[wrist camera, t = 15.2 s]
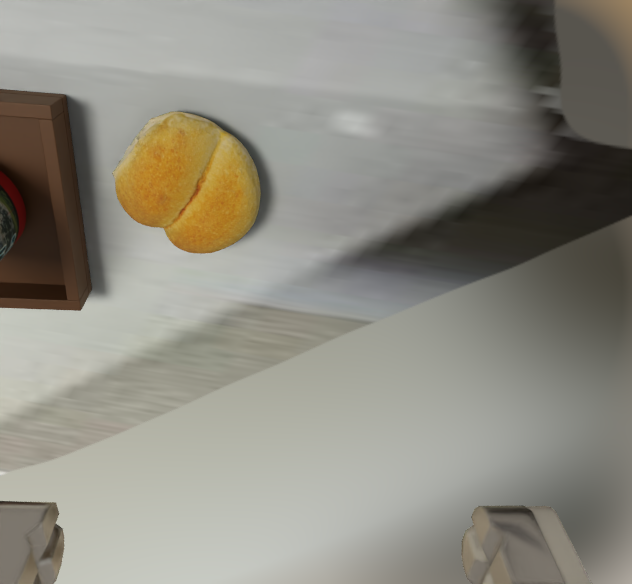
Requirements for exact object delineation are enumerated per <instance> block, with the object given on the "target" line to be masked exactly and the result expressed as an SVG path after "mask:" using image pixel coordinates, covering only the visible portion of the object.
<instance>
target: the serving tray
mask: <svg viewBox="0 0 632 584" xmlns="http://www.w3.org/2000/svg"><path fill="white" fill-rule="evenodd" d="M0 171H2V172H3V173H4V174H5V175H6V176H7V177H8V178H9V179H10V180H11V181H12V182H13V184H14V185H15V186H16V188H17V189H18V191H19V193H20V194H21V197H22V199H23V202H24V205H25V209H26V224H25V228H24V231H23V233H22V235H21V236H20V238H19V239H18V240H17V241H16V243H15V244H14V245H13V246H12V248H11V249H10V250H9V251H8V252H7V254H6V255H5V256H4V257H3V258H2V260H1V261H0V308H26V309H53V310H81V309H82V307H83V306H84V304H85V302H86V300H87V298H88V296H89V294H90V292H91V290H92V286H91V279H90V271H89V264H88V256H87V249H86V241H85V234H84V226H83V219H82V212H81V204H80V197H79V189H78V182H77V174H76V167H75V159H74V152H73V144H72V137H71V129H70V122H69V114H68V107H67V99H66V95H64V94H52V93H40V92H27V91H15V90H3V89H0Z"/></svg>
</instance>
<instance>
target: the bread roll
mask: <svg viewBox="0 0 632 584" xmlns="http://www.w3.org/2000/svg"><path fill="white" fill-rule="evenodd" d="M112 174H113V176H114V178H115V184H116V193H117V197H118V200H119V202H120V203H121V205H122V207H123V208H124V210H125V211H126V212H127V213H128V214H129V215H130V216H131V217H132V218H133V219H134V220H135V221H137V222H138V223H141V224H143V225H146V226H150V227H160V228H164V230H165V232H166V235H167V237H168V238H169V240H170V241H171V242H172V243H173V244H174V245H175V246H176V247H178V248H179V249H182V250H184V251H187V252H191V253H212V252H216V251H219V250H221V249H224V248H226V247H228V246H230V245H232V244H234V243H235V242H237V241H238V240H240V239H241V238H242V237H243V236H244V235H245V234H246V233H247V232H248V231H249V230H250V228H251V227H252V226H253V224H254V222H255V220H256V217H257V214H258V210H259V204H260V195H261V191H260V182H259V176H258V173H257V169H256V167H255V164H254V162H253V160H252V158H251V157H250V155H249V153H248V151H247V149H246V148H245V147H244V146H243V145H242V144H241V142H240V141H239V140H238V139H237V138H236V137H234V136H232V135H231V134H229V133H227V132H226V131H223V130H222V129H221V128H220V127H219V126H217V125H216V124H215V123H213V122H212V121H210V120H208V119H206V118H203V117H200V116H197V115H194V114H191V113H183V112H178V111H177V112H169V113H166V114H163V115H160V116H158V117H156V118H152V119H150V120H149V122H148V123H147V124H146V125H145V126H144V128H143V129H142V130H141V131H140V132H139V134H138V135H137V136H136V137H135V139H134V141H133V142H132V144H131V145H130V146H129V147H128V149H127V150H126V152H125V155H124V157H123V158H122V160H120V161H119V164H118V166H117V167H116V169H115V170H114V171H113V173H112Z"/></svg>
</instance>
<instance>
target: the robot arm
mask: <svg viewBox="0 0 632 584" xmlns="http://www.w3.org/2000/svg"><path fill="white" fill-rule="evenodd" d="M58 515H59V512H58V508H57V505H56V503H54V502H52V503H51V502H12V501H0V584H53V583H54V582H55V581H56V579H57V576H58V573H59V570H60V567H61V562H62V557H63V551H64V534H63V529H62V528H61V527H60V526H58V525H57V524H56V520H57V518H58ZM472 520H473V523H474V525H473V526H471V527H470V528H469V529H467V530H466V531H465V534H464V537H463V539H462V561H463V567H464V570H465V573H466V577H467V579H468V580H469V581H470V582H471V583H472V584H592V582H591V580H590V578H589V576H588V574H587V572H586V570H585V568H584V566H583V565H582V563H581V561H580V559H579V557H578V555H577V553H576V551H575V549H574V547H573V545H572V543H571V541H570V539H569V537H568V535H567V533H566V531H565V529H564V527H563V525H562V523H561V521H560V519H559V517H558V515H557V514H556V512H555V511H554V510H553V509H552V508H551V507H546V506H535V507H525V506H479V507H477V508H476V509H475V510H474V512H473V514H472Z"/></svg>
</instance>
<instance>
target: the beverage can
mask: <svg viewBox="0 0 632 584" xmlns="http://www.w3.org/2000/svg"><path fill="white" fill-rule="evenodd" d="M25 224H26V209H25V205H24V202H23V199H22V197H21V194H20V193H19V191H18V189H17V188H16V186H15V185H14V184H13V182H12V181H11V180H10V179H9V178H8V177H7V176H6V175H5V174H4V173H3V172H2V171H0V261H1V260H2V258H3V257H4V256H5V255H6V254H7V252H8V251H9V250H10V249H11V248H12V246H13V245H14V244H15V243H16V241H17V240H18V239H19V238H20V236H21V235H22V233H23V231H24V228H25Z"/></svg>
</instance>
